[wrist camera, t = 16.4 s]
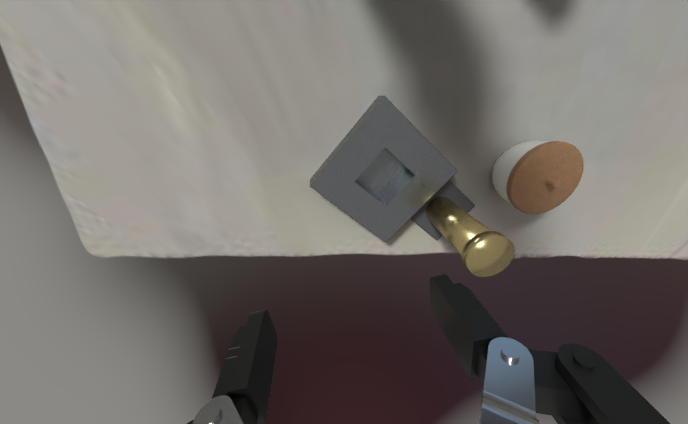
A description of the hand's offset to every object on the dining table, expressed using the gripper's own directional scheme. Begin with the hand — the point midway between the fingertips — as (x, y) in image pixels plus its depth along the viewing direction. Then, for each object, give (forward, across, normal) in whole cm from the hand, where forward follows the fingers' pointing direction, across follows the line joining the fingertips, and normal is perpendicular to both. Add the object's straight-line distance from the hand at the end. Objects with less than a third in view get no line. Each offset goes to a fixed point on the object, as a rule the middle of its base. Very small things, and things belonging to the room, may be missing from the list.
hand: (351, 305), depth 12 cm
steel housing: (+30, -8, +4) cm, 31 cm away
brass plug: (+30, -18, +12) cm, 37 cm away
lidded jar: (+30, -31, +7) cm, 44 cm away
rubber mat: (+30, -18, +12) cm, 37 cm away
